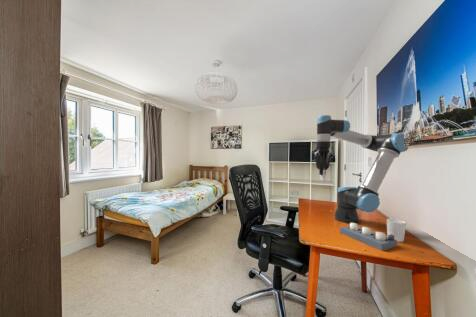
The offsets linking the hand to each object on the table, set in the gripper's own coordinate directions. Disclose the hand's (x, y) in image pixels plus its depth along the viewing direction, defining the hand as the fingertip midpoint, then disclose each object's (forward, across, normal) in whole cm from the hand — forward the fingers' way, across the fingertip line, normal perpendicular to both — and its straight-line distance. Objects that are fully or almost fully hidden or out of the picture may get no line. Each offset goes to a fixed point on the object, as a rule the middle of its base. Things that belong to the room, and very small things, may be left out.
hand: (322, 180), depth 116 cm
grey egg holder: (+29, -11, +20) cm, 37 cm away
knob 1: (+29, -11, +13) cm, 33 cm away
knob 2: (+29, -11, +27) cm, 41 cm away
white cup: (+30, -26, +26) cm, 47 cm away
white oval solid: (+29, -11, +20) cm, 37 cm away
